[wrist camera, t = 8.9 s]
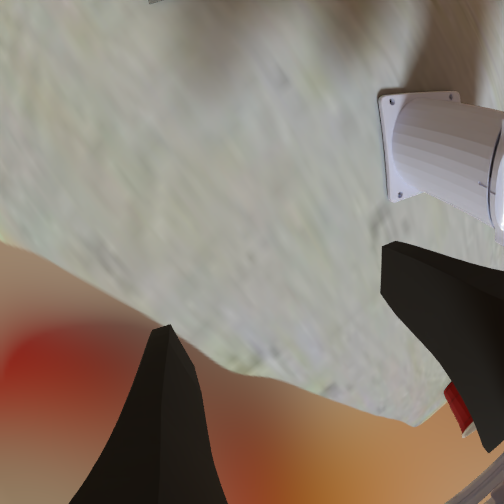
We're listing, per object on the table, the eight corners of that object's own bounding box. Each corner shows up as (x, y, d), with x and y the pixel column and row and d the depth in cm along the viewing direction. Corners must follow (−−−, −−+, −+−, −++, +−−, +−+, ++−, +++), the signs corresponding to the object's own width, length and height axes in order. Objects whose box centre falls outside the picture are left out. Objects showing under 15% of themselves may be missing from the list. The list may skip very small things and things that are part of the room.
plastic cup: (467, 359, 43) (502, 398, 33) (472, 369, 49) (502, 403, 38) (429, 399, 45) (460, 439, 35) (439, 403, 51) (466, 438, 40)
